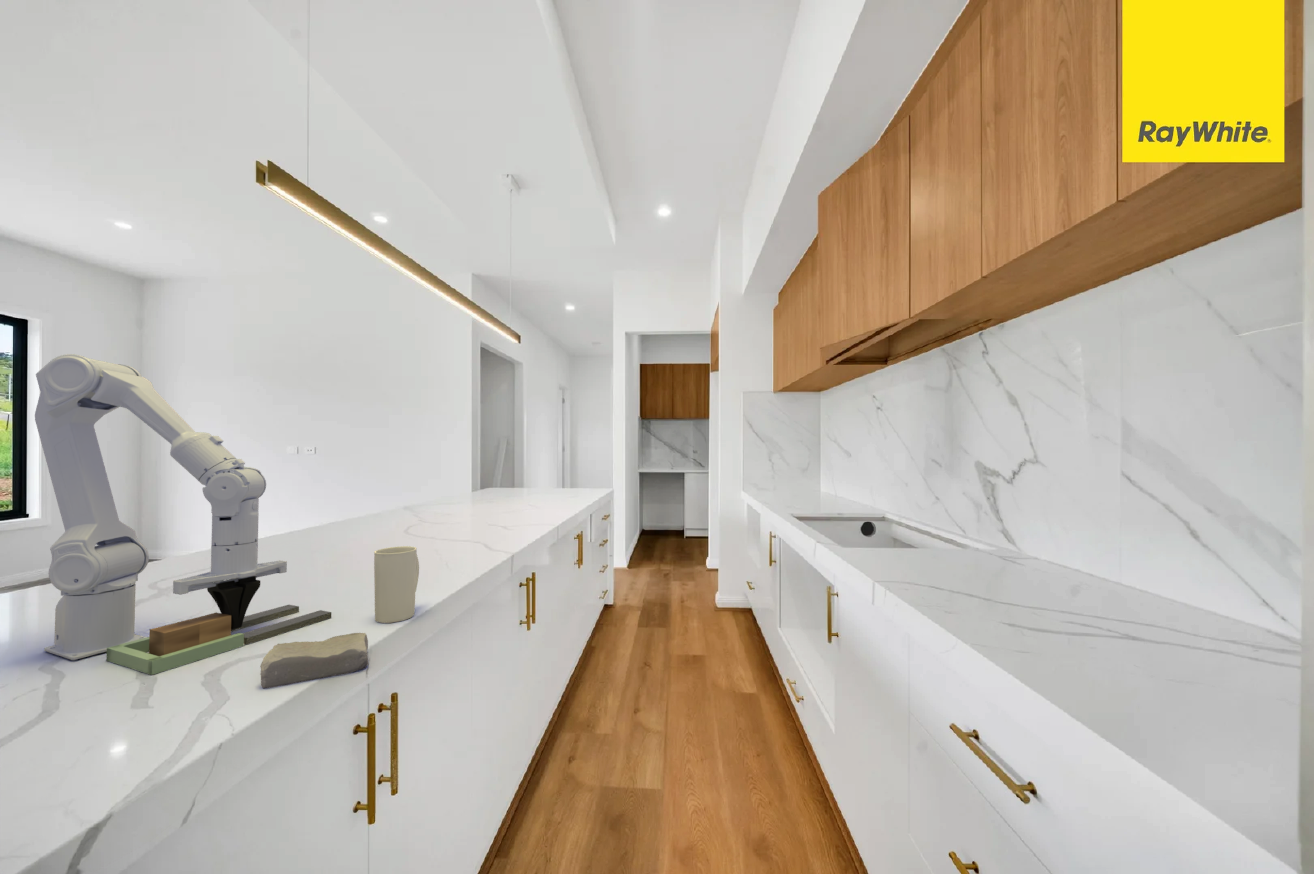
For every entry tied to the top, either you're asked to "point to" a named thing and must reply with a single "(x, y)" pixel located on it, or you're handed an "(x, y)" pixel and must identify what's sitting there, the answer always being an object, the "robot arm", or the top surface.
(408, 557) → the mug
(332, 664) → the stone block
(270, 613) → the slot rails
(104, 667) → the top surface
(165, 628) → the walnut chip front
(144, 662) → the tray
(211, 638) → the block
